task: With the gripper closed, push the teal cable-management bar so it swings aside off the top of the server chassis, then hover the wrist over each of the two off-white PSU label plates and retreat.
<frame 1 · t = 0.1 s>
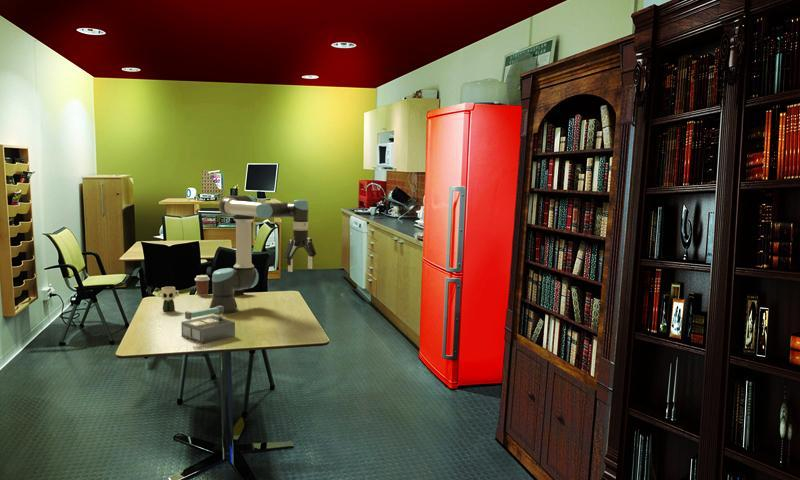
hand: (300, 270, 294), 28 cm above the table, fingers open, 13 cm apart
cable arm: (205, 312, 264), point 12 cm above the table, hinge at 0.0°
magazine: (236, 295, 359), on the table
server chassis: (208, 336, 267), on the table
coffee cup: (202, 294, 356), on the table
big eared figurine: (168, 310, 313), on the table
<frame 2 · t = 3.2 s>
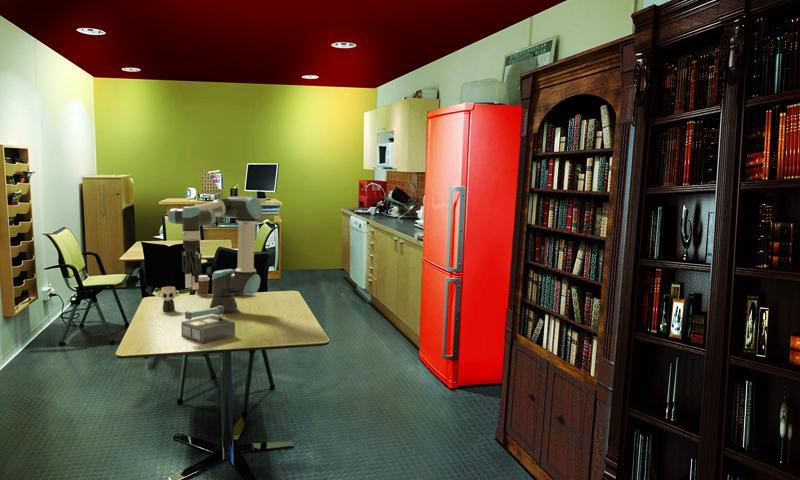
hand: (192, 288, 266), 23 cm above the table, fingers open, 5 cm apart
nothing on the table moved.
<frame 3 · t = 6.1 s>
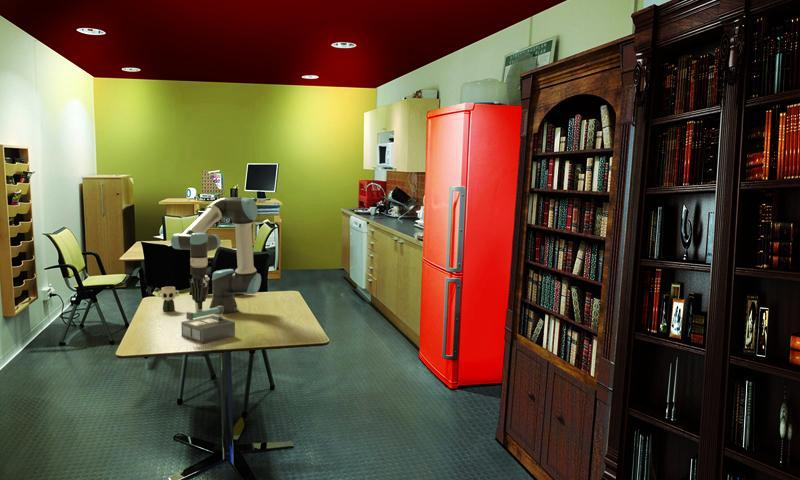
hand: (198, 315, 263), 11 cm above the table, fingers closed
cable arm: (206, 312, 264), point 12 cm above the table, hinge at 4.2°, touching gripper
everything else where it was.
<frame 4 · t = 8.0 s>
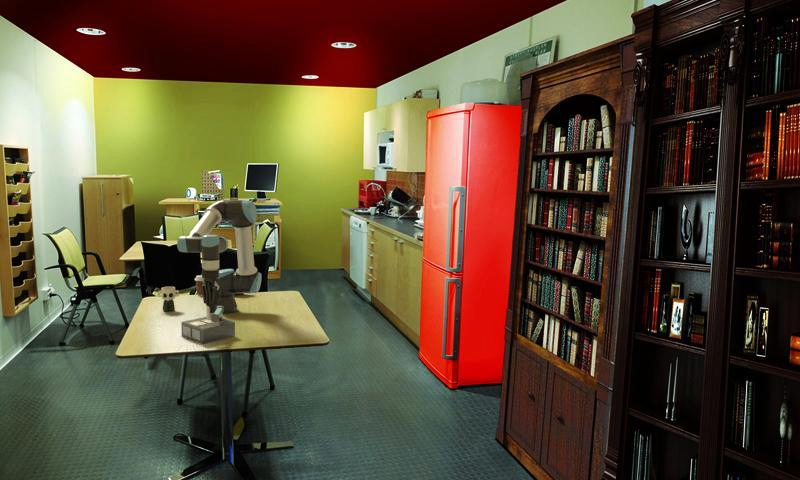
hand: (210, 319, 258), 10 cm above the table, fingers closed
cable arm: (217, 313, 263), point 12 cm above the table, hinge at 49.0°, touching gripper
everything else where it was.
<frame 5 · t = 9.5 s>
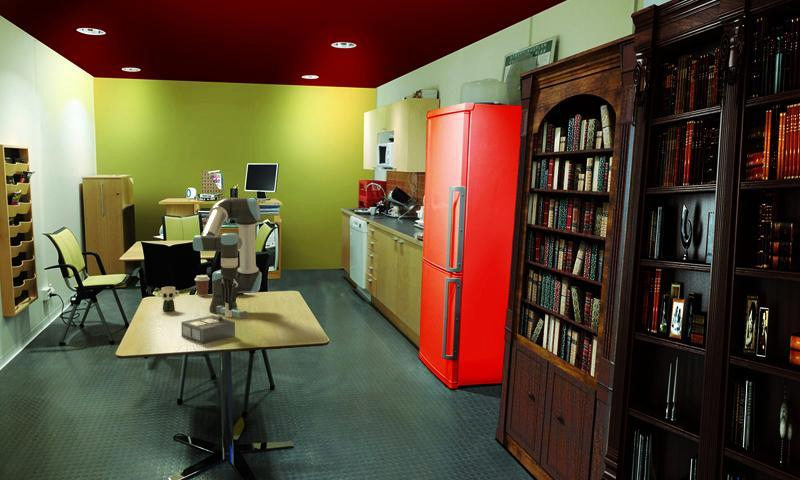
hand: (228, 316, 263), 11 cm above the table, fingers closed
cable arm: (230, 312, 266), point 12 cm above the table, hinge at 94.0°, touching gripper
everything else where it was.
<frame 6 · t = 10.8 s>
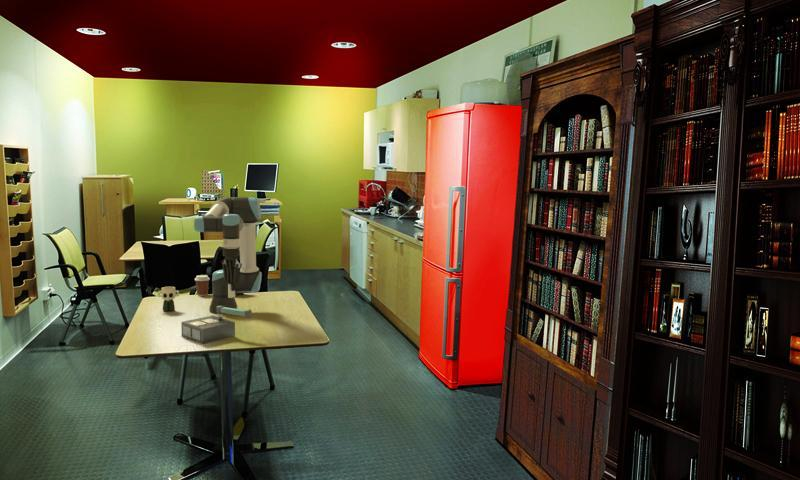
hand: (231, 297, 263), 20 cm above the table, fingers closed
cable arm: (233, 311, 267), point 12 cm above the table, hinge at 104.7°
everything else where it was.
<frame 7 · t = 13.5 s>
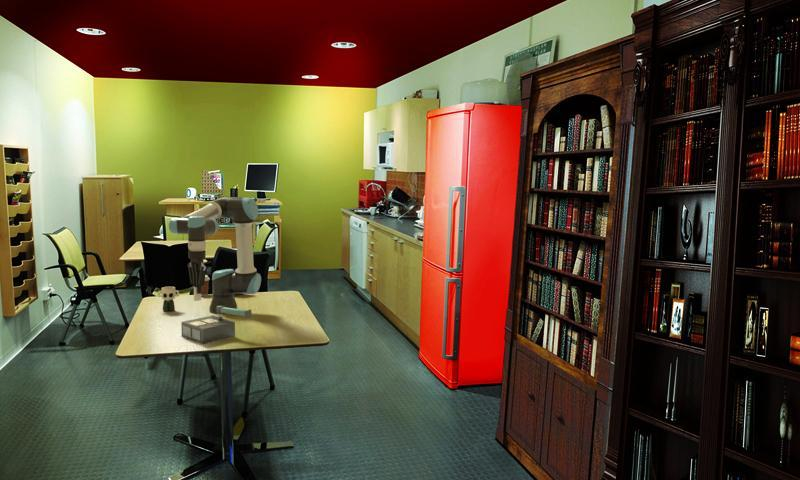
hand: (197, 300, 261), 18 cm above the table, fingers closed
nothing on the table moved.
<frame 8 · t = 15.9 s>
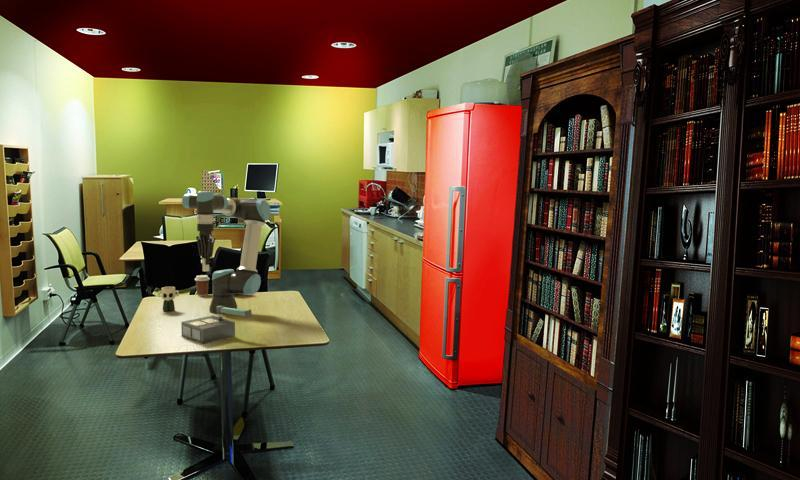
hand: (205, 271, 275), 29 cm above the table, fingers closed
nothing on the table moved.
at the end: cable arm at +105° (first picture: +0°) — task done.
